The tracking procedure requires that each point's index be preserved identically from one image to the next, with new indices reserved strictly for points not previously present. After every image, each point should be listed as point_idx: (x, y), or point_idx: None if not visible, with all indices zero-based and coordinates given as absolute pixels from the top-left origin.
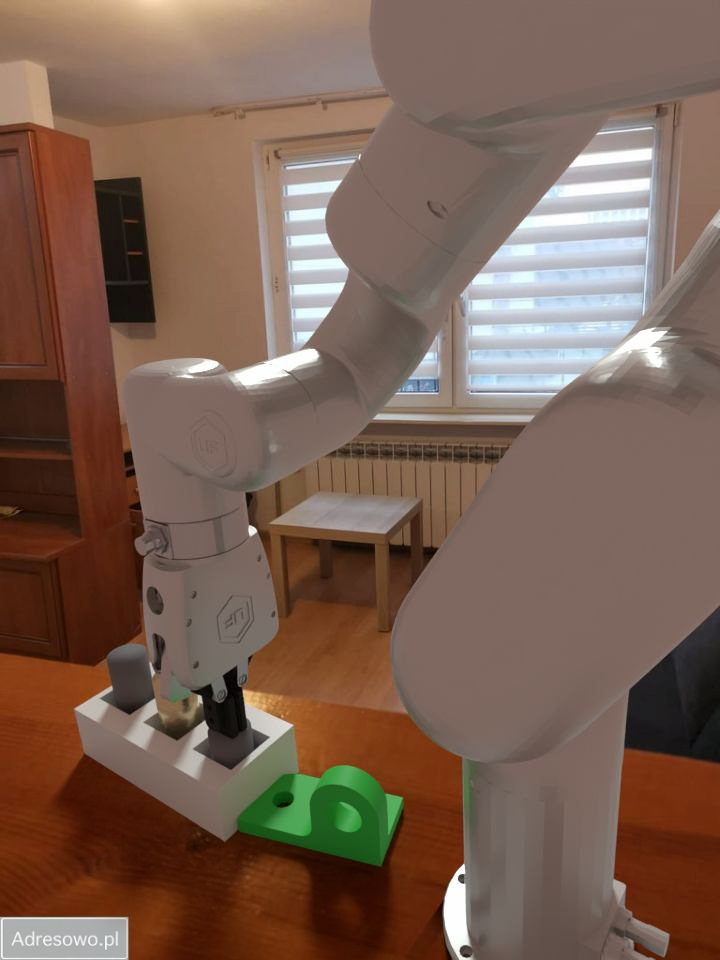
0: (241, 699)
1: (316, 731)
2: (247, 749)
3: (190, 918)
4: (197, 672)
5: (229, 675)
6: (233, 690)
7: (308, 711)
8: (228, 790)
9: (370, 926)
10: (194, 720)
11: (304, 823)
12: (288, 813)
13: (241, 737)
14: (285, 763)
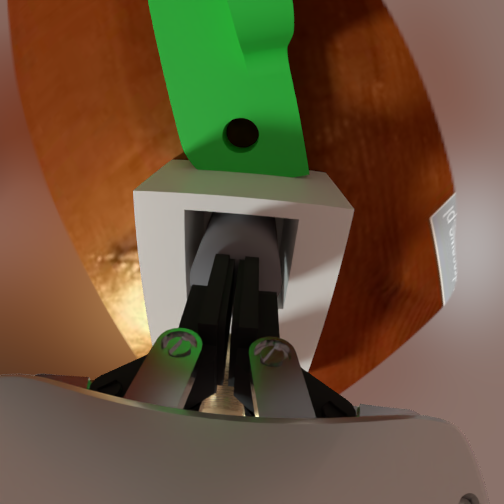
0: (210, 304)
1: (90, 201)
2: (238, 226)
3: (414, 155)
4: (461, 477)
5: (197, 379)
6: (216, 339)
7: (74, 235)
8: (325, 199)
9: None
10: (229, 343)
11: (265, 76)
12: (261, 110)
13: (244, 246)
14: (184, 173)
